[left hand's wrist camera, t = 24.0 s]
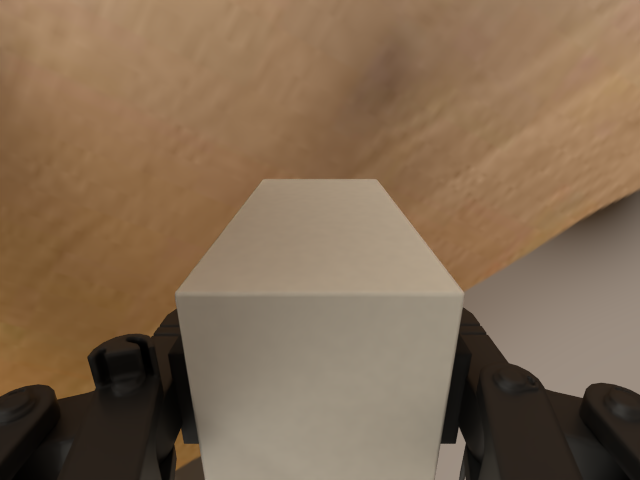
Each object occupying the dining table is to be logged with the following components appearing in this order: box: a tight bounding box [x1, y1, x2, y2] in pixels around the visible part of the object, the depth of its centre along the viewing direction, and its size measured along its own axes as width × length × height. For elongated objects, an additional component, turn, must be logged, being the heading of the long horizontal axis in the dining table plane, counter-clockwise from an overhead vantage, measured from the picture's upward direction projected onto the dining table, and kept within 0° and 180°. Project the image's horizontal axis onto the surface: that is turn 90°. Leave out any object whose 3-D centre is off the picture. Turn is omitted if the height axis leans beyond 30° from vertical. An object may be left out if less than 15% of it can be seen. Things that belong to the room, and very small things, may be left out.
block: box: [175, 179, 465, 480], centre depth 12 cm, size 7×5×11 cm
